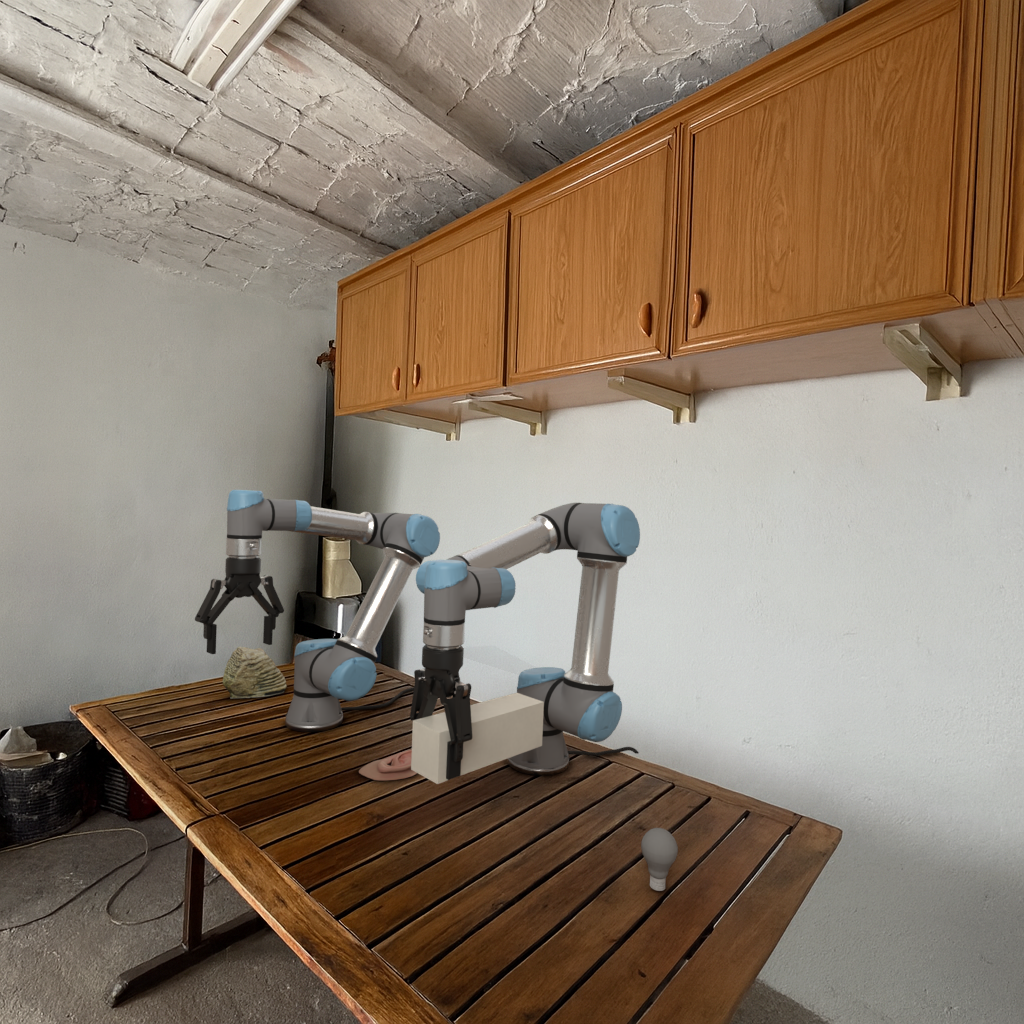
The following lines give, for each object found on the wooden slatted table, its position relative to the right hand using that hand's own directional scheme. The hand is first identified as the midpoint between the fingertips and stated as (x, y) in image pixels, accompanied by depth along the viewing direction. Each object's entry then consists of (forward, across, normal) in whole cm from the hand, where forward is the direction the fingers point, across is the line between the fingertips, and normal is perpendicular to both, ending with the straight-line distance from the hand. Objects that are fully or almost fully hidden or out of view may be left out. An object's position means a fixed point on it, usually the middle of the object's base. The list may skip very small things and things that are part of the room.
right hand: (438, 769), depth 116 cm
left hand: (-13, -57, -14) cm, 60 cm away
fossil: (+15, -105, +11) cm, 107 cm away
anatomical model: (+15, -32, +12) cm, 38 cm away
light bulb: (+15, +34, +20) cm, 42 cm away
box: (+1, 0, +10) cm, 10 cm away
